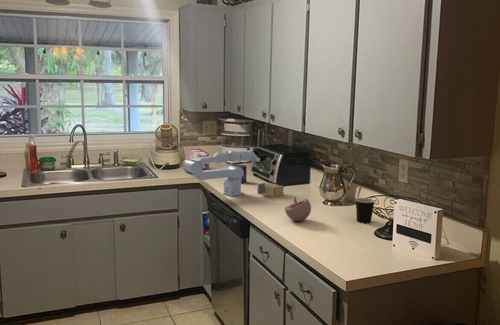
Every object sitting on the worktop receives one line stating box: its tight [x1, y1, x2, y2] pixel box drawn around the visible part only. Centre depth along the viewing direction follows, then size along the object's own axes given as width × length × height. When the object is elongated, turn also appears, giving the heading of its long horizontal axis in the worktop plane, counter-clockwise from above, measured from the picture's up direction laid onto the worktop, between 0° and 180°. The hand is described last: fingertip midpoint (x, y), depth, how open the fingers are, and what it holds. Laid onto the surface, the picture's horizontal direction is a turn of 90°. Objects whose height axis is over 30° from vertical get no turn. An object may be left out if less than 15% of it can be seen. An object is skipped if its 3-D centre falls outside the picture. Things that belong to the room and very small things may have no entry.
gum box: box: [188, 148, 210, 171], centre depth 340 cm, size 24×8×14 cm, turn 22°
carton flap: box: [257, 182, 274, 198], centre depth 273 cm, size 12×5×7 cm, turn 44°
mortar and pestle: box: [284, 196, 312, 222], centre depth 229 cm, size 12×12×12 cm
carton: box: [264, 182, 285, 198], centre depth 278 cm, size 8×12×5 cm, turn 44°
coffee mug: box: [355, 197, 375, 224], centre depth 230 cm, size 12×9×10 cm
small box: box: [227, 163, 247, 184], centre depth 308 cm, size 11×6×10 cm, turn 62°
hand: (262, 155), depth 286 cm, fingers open, 7 cm apart
